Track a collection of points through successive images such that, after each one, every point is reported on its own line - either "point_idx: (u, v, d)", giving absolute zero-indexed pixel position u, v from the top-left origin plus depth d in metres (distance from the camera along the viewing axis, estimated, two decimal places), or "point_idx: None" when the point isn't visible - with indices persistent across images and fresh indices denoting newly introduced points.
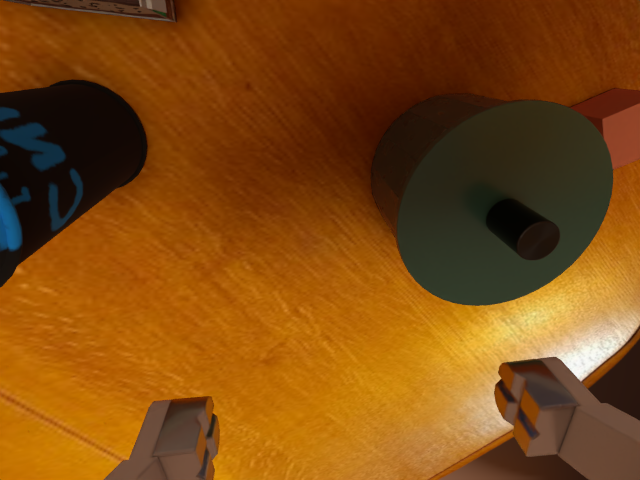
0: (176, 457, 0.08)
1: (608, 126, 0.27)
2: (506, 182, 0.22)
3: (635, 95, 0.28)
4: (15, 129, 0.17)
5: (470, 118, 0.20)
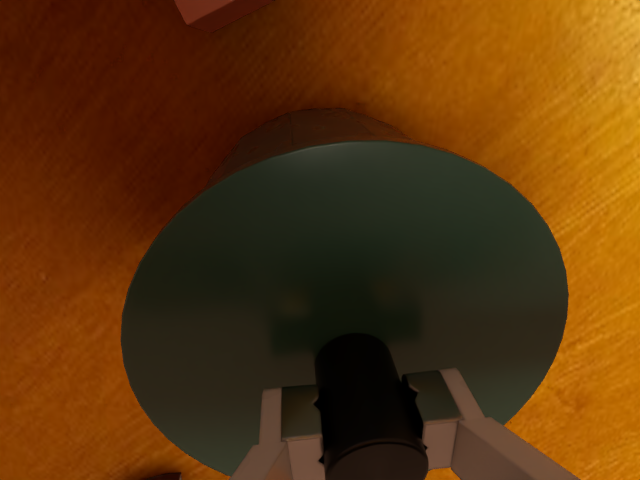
0: (303, 442, 0.08)
1: (199, 2, 0.12)
2: (282, 375, 0.12)
3: None
4: None
5: (176, 445, 0.13)
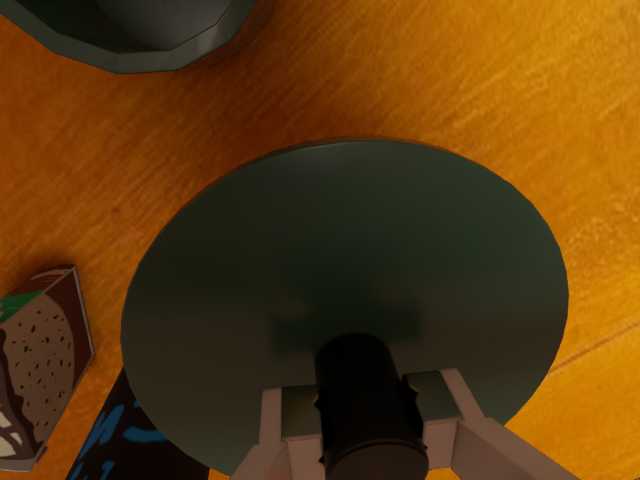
0: (303, 442, 0.08)
1: None
2: (281, 376, 0.11)
3: None
4: (87, 440, 0.21)
5: None
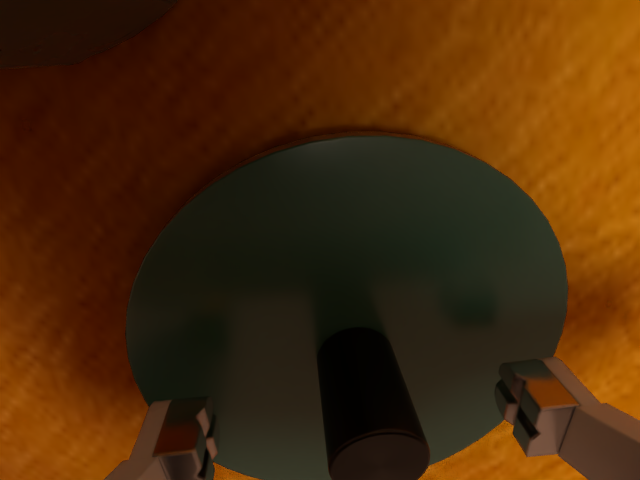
0: (176, 457, 0.08)
1: None
2: (284, 370, 0.12)
3: None
4: None
5: None
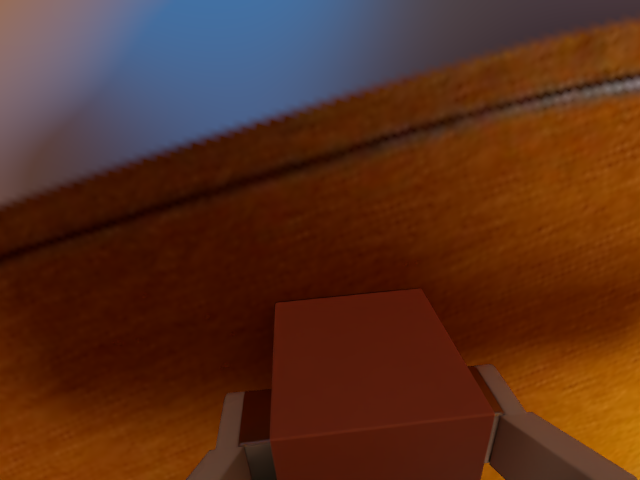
0: (260, 447, 0.08)
1: None
2: None
3: None
4: None
5: None
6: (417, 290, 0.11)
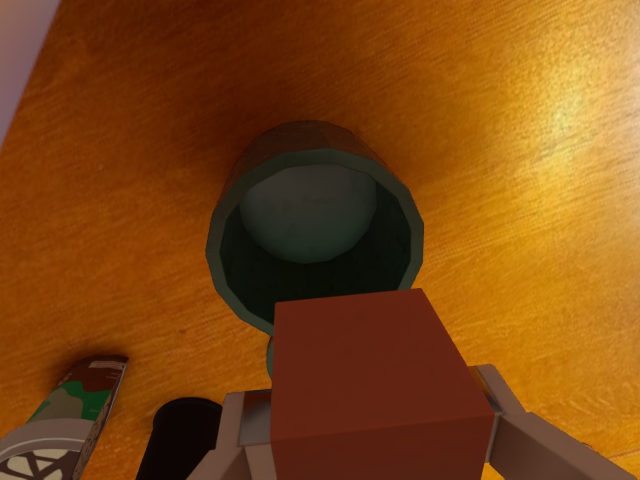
0: (260, 447, 0.08)
1: None
2: None
3: None
4: None
5: None
6: (417, 290, 0.11)
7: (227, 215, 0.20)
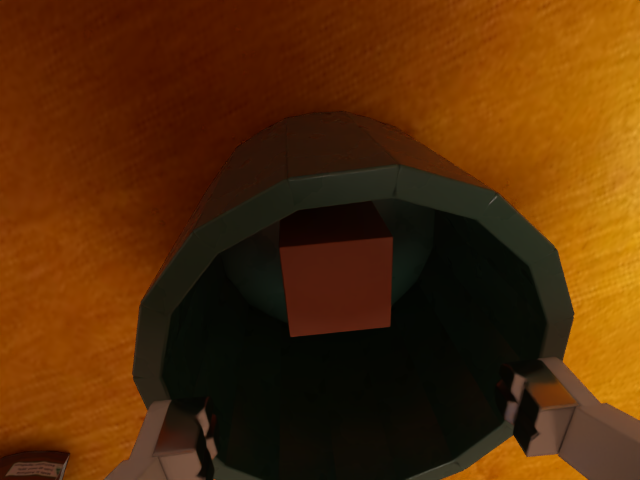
0: (176, 457, 0.08)
1: (305, 328, 0.16)
2: None
3: None
4: None
5: None
6: None
7: (172, 308, 0.09)
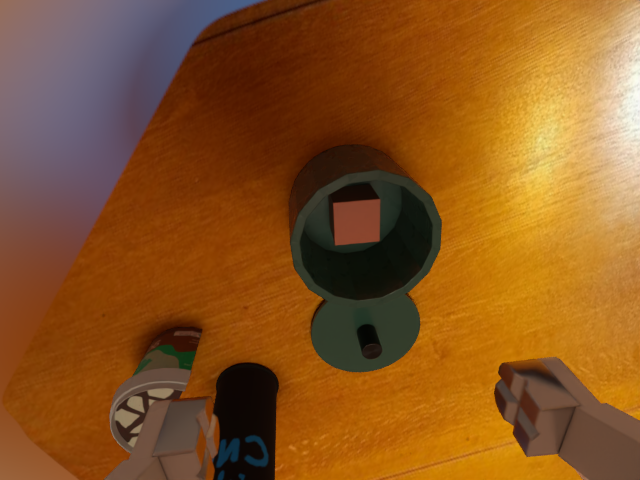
0: (176, 457, 0.08)
1: (342, 241, 0.36)
2: (348, 330, 0.45)
3: (331, 205, 0.35)
4: (218, 456, 0.37)
5: (312, 341, 0.46)
6: (369, 184, 0.38)
7: (307, 215, 0.29)
